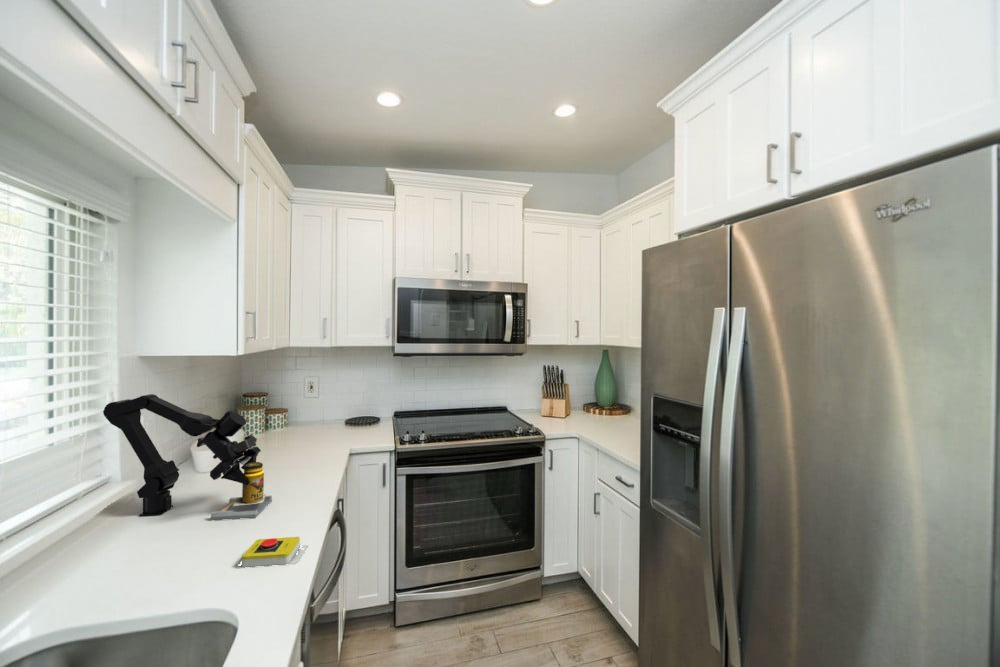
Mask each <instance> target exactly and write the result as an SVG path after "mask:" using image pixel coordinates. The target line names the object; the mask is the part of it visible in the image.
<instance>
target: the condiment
mask: <svg viewBox="0 0 1000 667" xmlns="http://www.w3.org/2000/svg"><path fill="white" fill-rule="evenodd" d="M263 465H264V464H263V462H260V461H256V462H253V463H248V464H246V465H245V466H244V470H243V474H244V475H245V476H246V477H247V479H248V480H249V481H250V483H249V484H248V485H245V484H242V487H241V488H242V489H241V491H242V492H241V495H242V496H237V497H238V498H236V501H235V503H234V505H233V506H239V505H248V504H257V503H262V502H264V499H265V496H267V494H264V485H265V482H264V481H265V480H264V477H265V471H264V466H263Z"/></svg>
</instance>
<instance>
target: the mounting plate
mask: <svg viewBox="0 0 1000 667" xmlns="http://www.w3.org/2000/svg"><path fill="white" fill-rule="evenodd" d="M272 502H273V498H272V499H271V500H267V501H264V502H262V503H257V504H248V505H239V506H233V505H234V503H235V502H228V503H227V504H225V505H224V506H223V507H221V509H220V510H218V511H233V510H251V509H258V513H257V514H256V515H239V516H222V517H211V516H210V521H211V520H215V521H223V520H222V519H232V520H241V519H240V518H249V519H256V518H257V517H258V516H259V515H260V514H261V513H262V512H263V511H264V510H265V509H266V508H267V507H268V506H269V505H270V504H272ZM268 504H269V505H268ZM266 506H267V507H266ZM265 507H266V508H265Z"/></svg>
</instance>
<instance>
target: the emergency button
mask: <svg viewBox="0 0 1000 667" xmlns="http://www.w3.org/2000/svg"><path fill="white" fill-rule="evenodd" d="M300 545H301V539H300V536H290V537H275V538H274V537H273V538H259V539H256V540H255V541H254V542H253V543H252V544H251V546H249V547H248V548H247V550H246V551H245V552H244V553H243V554H242V556H241V560H242V565H241V566H238V565H237V564H236V565H235V568H236V569H245V567H250V568H256V567H255V566H264V567H273V566H272V565H279V566H287V565H286V564H293V565H297V564H298V563H299V562H301V560H300V559H302V558H303V556H304V555H305V554H306V552H305V551H307V550H308V549H309V545H307V544H302V546H303V547H302V548H304V550H301V549H299V548H300ZM307 548H308V549H307ZM306 549H307V550H306ZM297 551H298V555H296V553H297ZM303 554H304V555H303ZM238 563H239V562H238ZM296 563H297V564H296ZM239 564H240V563H239ZM270 565H271V566H270Z"/></svg>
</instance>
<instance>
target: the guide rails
mask: <svg viewBox="0 0 1000 667" xmlns="http://www.w3.org/2000/svg"><path fill="white" fill-rule="evenodd" d="M238 497H239V496H236V497H235V496H233V497H230V498H229V502H235V501H236V498H238ZM272 497H273V495H271V494H270V495H265V499H264V501H267V500H271V499H272V500H273V498H272ZM229 502H228V503H229ZM257 513H258V509H251V510H233V511H219V510H218V511H217V510H216V511H212V512H211V514H210V518H211V517H222V516H239V515H256V514H257Z"/></svg>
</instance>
